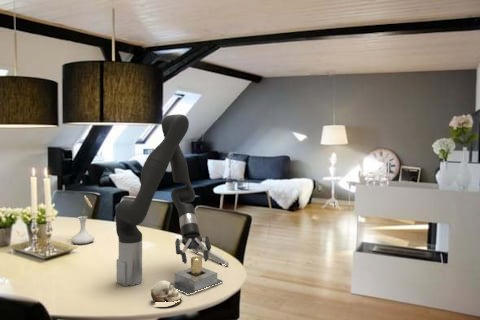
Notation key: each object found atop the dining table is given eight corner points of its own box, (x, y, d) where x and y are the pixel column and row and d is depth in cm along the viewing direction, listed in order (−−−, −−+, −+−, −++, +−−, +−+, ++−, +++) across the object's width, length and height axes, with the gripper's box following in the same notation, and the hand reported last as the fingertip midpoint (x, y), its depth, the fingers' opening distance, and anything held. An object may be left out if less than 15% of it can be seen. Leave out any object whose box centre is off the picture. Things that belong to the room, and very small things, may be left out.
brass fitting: (195, 285, 160) (195, 260, 159) (188, 282, 163) (188, 258, 162) (203, 282, 163) (204, 258, 163) (196, 279, 166) (196, 255, 166)
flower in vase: (89, 245, 211) (89, 198, 209) (67, 245, 211) (67, 197, 209) (98, 238, 224) (98, 194, 222) (78, 238, 224) (77, 193, 222)
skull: (182, 290, 156) (183, 277, 148) (181, 317, 149) (181, 305, 141) (150, 289, 154) (149, 277, 147) (147, 317, 147) (146, 305, 140)
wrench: (224, 273, 185) (187, 250, 207) (228, 272, 186) (190, 249, 208) (226, 257, 183) (189, 235, 205) (229, 256, 185) (192, 234, 206)
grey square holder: (188, 296, 153) (188, 283, 152) (168, 286, 161) (169, 274, 160) (222, 283, 166) (222, 271, 165) (202, 275, 174) (203, 263, 173)
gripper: (174, 223, 167) (180, 259, 157) (207, 221, 172) (215, 255, 162) (171, 232, 172) (177, 267, 162) (203, 230, 177) (210, 264, 168)
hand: (196, 261), depth 162 cm, fingers open, 8 cm apart
